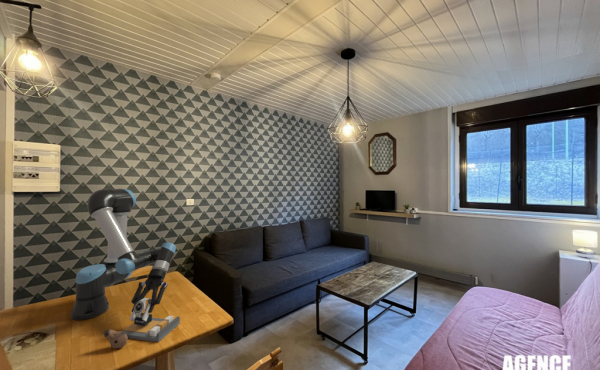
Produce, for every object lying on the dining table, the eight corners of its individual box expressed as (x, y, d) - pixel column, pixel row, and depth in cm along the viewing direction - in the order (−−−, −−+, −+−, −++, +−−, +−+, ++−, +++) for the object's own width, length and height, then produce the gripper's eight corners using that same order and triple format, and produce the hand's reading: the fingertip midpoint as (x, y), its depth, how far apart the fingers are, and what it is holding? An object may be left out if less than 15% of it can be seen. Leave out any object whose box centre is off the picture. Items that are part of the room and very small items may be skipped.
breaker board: (118, 336, 107) (118, 327, 107) (143, 319, 121) (143, 311, 121) (158, 342, 104) (159, 332, 104) (179, 323, 118) (179, 315, 118)
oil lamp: (100, 352, 97) (100, 332, 97) (106, 345, 101) (106, 326, 101) (124, 350, 99) (125, 330, 99) (129, 343, 103) (130, 324, 103)
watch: (130, 326, 109) (131, 302, 109) (144, 317, 117) (145, 294, 117) (141, 328, 108) (142, 304, 108) (154, 318, 116) (155, 296, 116)
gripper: (178, 274, 128) (161, 322, 112) (144, 274, 128) (121, 322, 112) (174, 268, 123) (154, 317, 107) (138, 267, 123) (113, 317, 106)
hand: (137, 320), depth 109 cm, fingers open, 5 cm apart
